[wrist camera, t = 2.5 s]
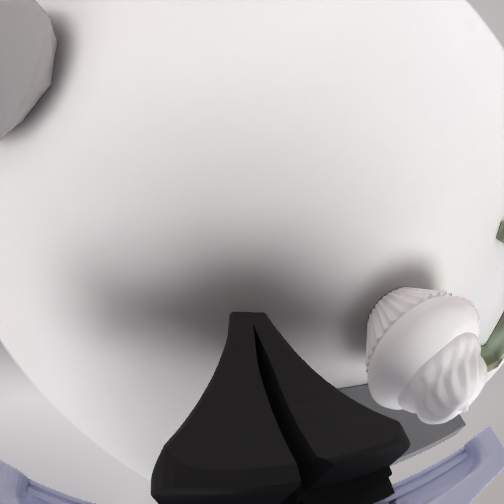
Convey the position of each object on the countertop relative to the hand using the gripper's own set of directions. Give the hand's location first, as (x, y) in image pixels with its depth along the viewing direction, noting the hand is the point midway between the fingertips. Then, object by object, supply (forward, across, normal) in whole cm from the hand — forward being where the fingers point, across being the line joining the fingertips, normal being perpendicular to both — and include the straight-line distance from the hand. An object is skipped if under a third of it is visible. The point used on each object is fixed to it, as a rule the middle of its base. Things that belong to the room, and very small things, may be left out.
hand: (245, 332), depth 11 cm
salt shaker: (+1, +10, -10) cm, 14 cm away
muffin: (+1, -8, 0) cm, 8 cm away
